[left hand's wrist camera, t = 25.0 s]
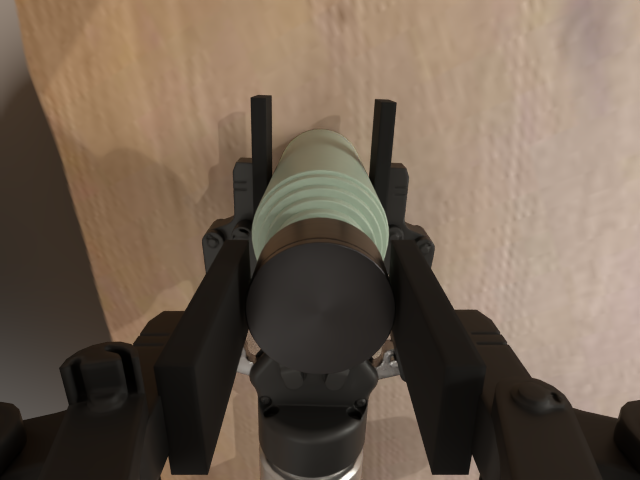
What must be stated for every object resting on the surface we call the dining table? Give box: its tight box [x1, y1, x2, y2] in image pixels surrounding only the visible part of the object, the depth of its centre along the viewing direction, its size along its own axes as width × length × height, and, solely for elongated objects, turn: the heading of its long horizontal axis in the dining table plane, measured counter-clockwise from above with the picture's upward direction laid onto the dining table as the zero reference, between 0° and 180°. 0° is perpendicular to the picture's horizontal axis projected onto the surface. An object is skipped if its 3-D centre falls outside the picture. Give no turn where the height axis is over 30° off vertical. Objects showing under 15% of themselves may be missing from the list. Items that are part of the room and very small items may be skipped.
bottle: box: [252, 129, 389, 261], centre depth 22 cm, size 6×6×19 cm
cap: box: [245, 217, 396, 374], centre depth 13 cm, size 4×4×2 cm
